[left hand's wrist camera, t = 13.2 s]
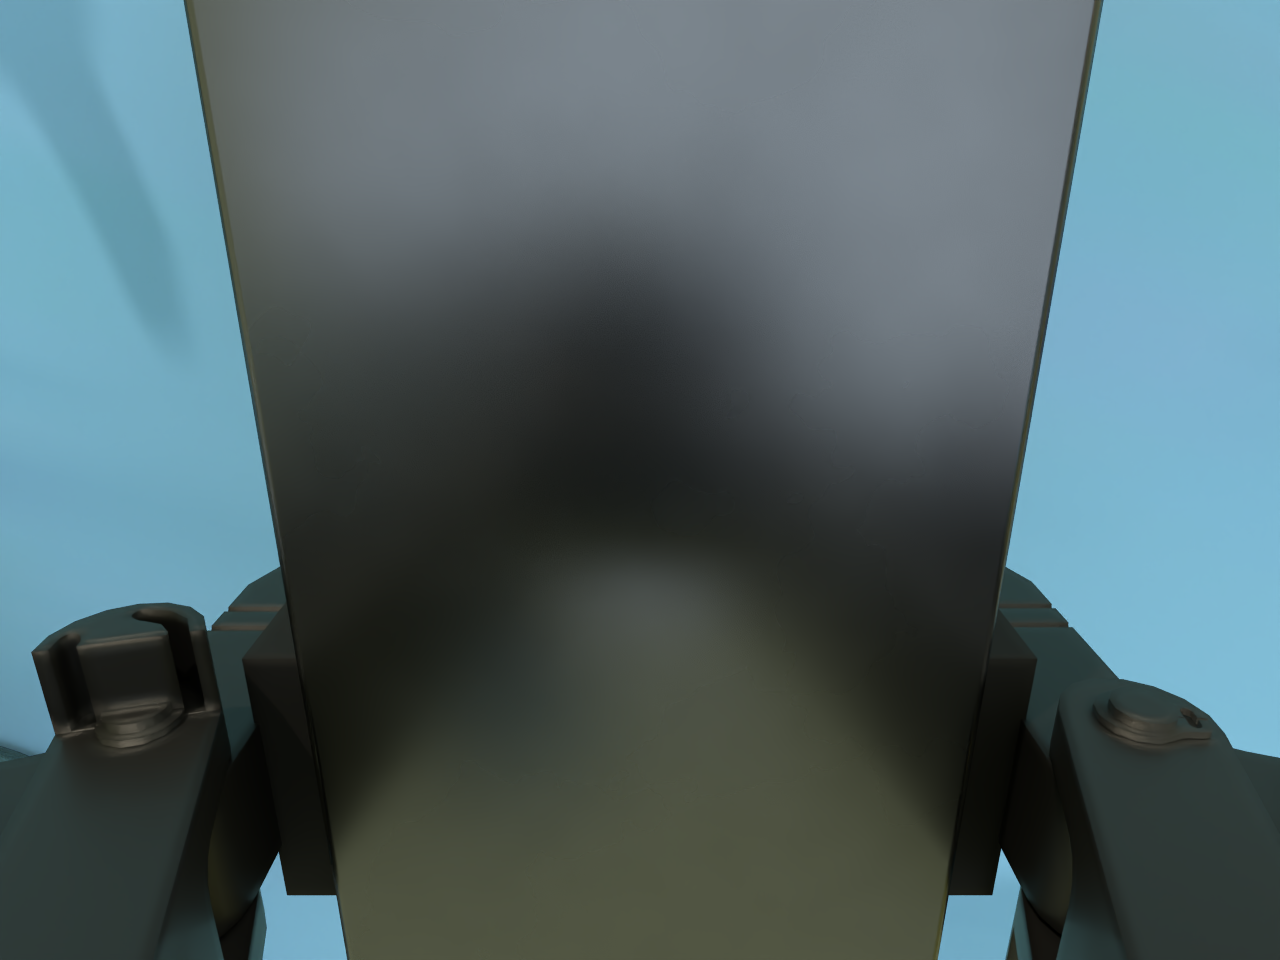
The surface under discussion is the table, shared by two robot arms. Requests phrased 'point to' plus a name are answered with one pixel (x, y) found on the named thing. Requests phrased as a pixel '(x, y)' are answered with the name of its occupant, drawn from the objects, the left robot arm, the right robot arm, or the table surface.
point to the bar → (643, 445)
